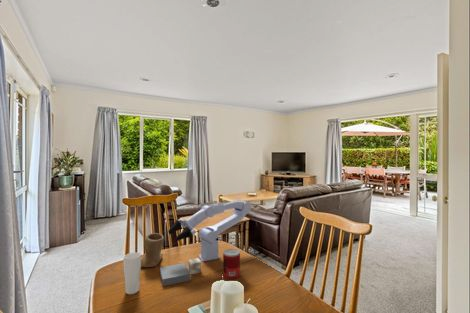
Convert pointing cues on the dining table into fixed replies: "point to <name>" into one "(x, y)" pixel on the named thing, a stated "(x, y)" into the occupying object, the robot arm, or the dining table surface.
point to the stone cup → (152, 250)
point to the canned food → (231, 263)
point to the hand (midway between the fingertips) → (172, 236)
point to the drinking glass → (132, 272)
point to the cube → (194, 266)
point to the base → (174, 274)
